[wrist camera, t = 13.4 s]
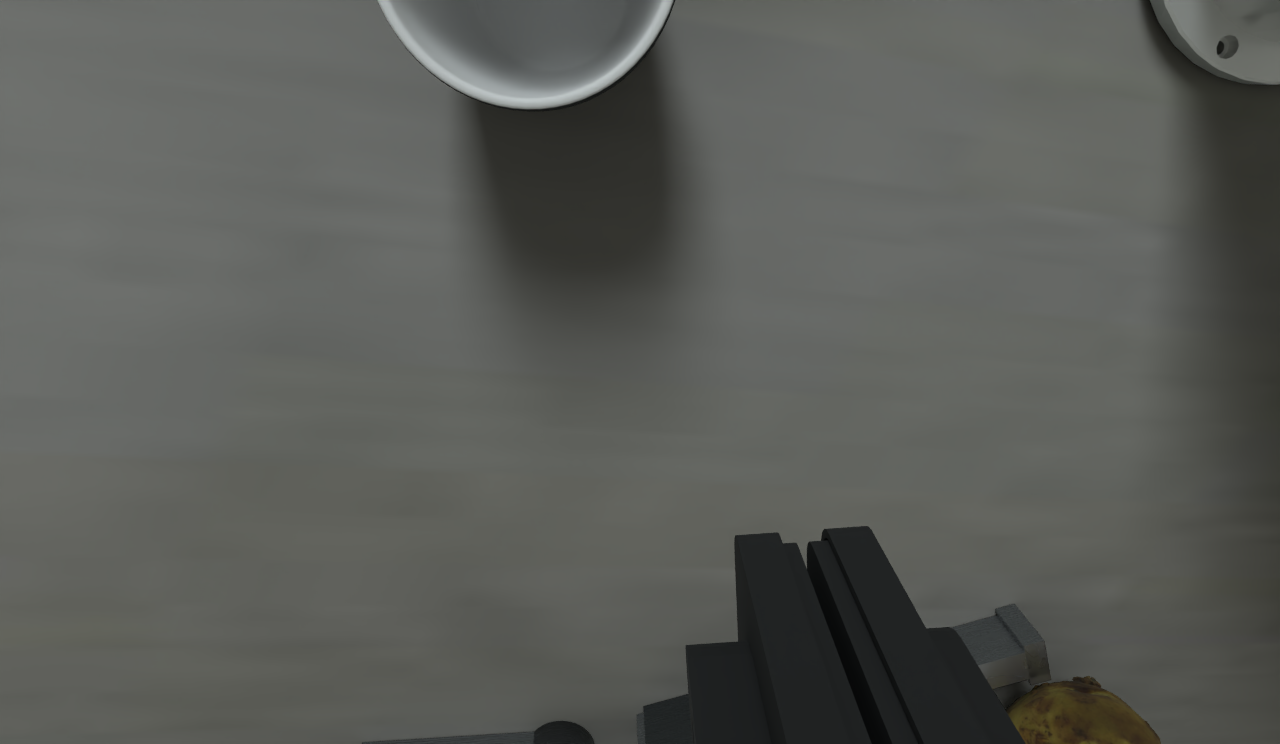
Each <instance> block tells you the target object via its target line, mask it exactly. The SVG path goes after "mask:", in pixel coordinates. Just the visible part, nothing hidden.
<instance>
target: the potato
mask: <svg viewBox="0 0 1280 744" xmlns="http://www.w3.org/2000/svg"><path fill="white" fill-rule="evenodd" d="M1072 680H1073V681H1062V682H1054V683H1043V684H1041V685H1038V686H1037V685H1035V686H1034V688H1033V689H1032V690H1031V691H1030V692H1028V693H1027V694H1025V695H1024V696H1022V697H1020V698H1018V699H1017V700H1016V701H1015V702H1014V703H1013V704H1012V705H1011V706H1010V707H1009V708H1007V710H1006V712H1007V714H1008V715H1009V717H1010V719H1011V720H1012V722H1013V724H1014V725H1015V727H1016V729H1017V730H1018V732H1019V733H1020V735H1021V737H1022V738H1023V740H1024V742H1025V743H1026V744H1161V742H1160V738H1159V737H1158V735H1157V734H1156V733H1155V731H1154V730H1153V729H1152V728H1151V727H1150V725H1149V724H1148V723H1147V721H1144V720H1143V719H1142V718H1141V717H1140V716H1139V715H1138V714H1137V713H1136V712H1135V711H1134V710H1133V709H1132V708H1131V707H1129V706H1128V705H1127V704H1126V703H1125V702H1124V701H1123V700H1121V699H1120V698H1119V697H1118V696H1116V695H1114V694H1113V693H1111V692H1109V691H1107V690H1104V689H1102V688H1101V685H1100V684H1099V683H1098V682H1097V681H1096V680H1095V679H1094V678H1093V677H1092V678H1090V676H1087V677H1084V678H1081V677H1074V678H1073V679H1072Z"/></svg>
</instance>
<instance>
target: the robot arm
mask: <svg viewBox="0 0 1280 744" xmlns="http://www.w3.org/2000/svg"><path fill="white" fill-rule="evenodd" d="M1150 2H1151V4H1152V7H1153V10H1154V12H1155V15H1156V17H1157V20H1158V22H1159V24H1160V25H1161V27H1162V28H1163V30H1164V31H1165V33H1166V34H1167V36H1168V37H1169V39H1170V40H1171V42H1172V43H1173V45H1174V46H1175V47H1176V48H1178V49H1179V50H1180V51H1181V52H1182V53H1183V54H1184V55H1185V56H1186V57H1187V58H1188V59H1189V60H1191V61H1192V62H1193V63H1194V64H1196V65H1197V66H1199V67H1201V68H1203V69H1205V70H1206V71H1208V72H1210V73H1212V74H1214V75H1215V76H1217V77H1221V78H1225V79H1228V80H1232V81H1235V82H1239V83H1242V84H1259V85H1279V84H1280V0H1150ZM735 572H736V596H737V621H738V642H726V643H712V644H697V645H686V663H687V678H688V693H689V707H690V720H691V733H692V744H1026V743H1025V742H1024V740H1023V738H1022V737H1021V735H1020V733H1019V732H1018V730H1017V729H1016V727H1015V725H1014V724H1013V722H1012V720H1011V719H1010V717H1009V715H1008V714H1007V712H1006V711H1005V709H1004V707H1003V706H1002V704H1001V702H1000V701H999V699H998V697H997V696H996V694H995V693H994V691H993V689H992V688H991V686H990V684H989V683H988V681H987V679H986V678H985V676H984V675H983V673H982V671H981V670H980V668H979V666H978V665H977V663H976V661H975V660H974V658H973V657H972V655H971V653H970V652H969V650H968V648H967V647H966V645H965V643H964V642H963V640H962V639H961V637H960V636H959V635H958V633H957V632H956V631H955V630H954V629H952V628H950V627H943V628H928V629H926V627H925V626H924V624H923V622H922V620H921V618H920V617H919V615H918V613H917V611H916V609H915V608H914V606H913V604H912V602H911V600H910V599H909V597H908V595H907V593H906V591H905V590H904V588H903V586H902V584H901V582H900V581H899V579H898V577H897V575H896V573H895V572H894V570H893V568H892V566H891V564H890V563H889V561H888V559H887V557H886V555H885V554H884V552H883V550H882V548H881V546H880V545H879V543H878V541H877V539H876V537H875V536H874V534H873V532H872V530H871V529H870V528H869V527H868V526H861V527H847V528H833V529H824V530H823V532H822V537H821V541H812V542H809V543H808V546H807V569H806V566H805V563H804V561H803V558H802V555H801V553H800V550H799V547H798V545H797V543H784V544H783V543H782V540H781V537H780V535H779V533H763V534H749V535H735Z"/></svg>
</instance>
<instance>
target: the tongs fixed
mask: <svg viewBox="0 0 1280 744" xmlns="http://www.w3.org/2000/svg"><path fill="white" fill-rule="evenodd" d="M362 744H594V741H593V738H592V736H591V735H590V734H589V732H588V731H587V730H586V729H584V728H583V727H581V726H580V725H578V724H575V723H572V722H567V721H556V722H551V723H548V724H545V725H543V726H541V727H540V728H538V729H537V730H536V731H535V732H524V733H508V734H492V735H476V736H460V737H444V738H428V739H412V740H396V741H380V742H364V743H362Z"/></svg>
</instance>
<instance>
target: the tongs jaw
mask: <svg viewBox="0 0 1280 744" xmlns="http://www.w3.org/2000/svg"><path fill="white" fill-rule="evenodd" d="M996 614H997V615H996V616H993V617H989V618H985V619H982V620H978V621H975V622H971V623H967V624H964V625H960V626H956V627H953V628H952V629H954V630H955V631H956V632H957V633H958V635H959V636H960V637H961V639H962V640H963V642H964V643H965V645H966V647H967V648H968V650H969V652H970V653H971V655H972V657H973V658H974V660H975V661H976V663H977V665H978V666H979V668H980V670H981V671H982V673H983V675H984V676H985V678H986V679H987V681H988V683H989V684H990V686H991V688H992V689H995V688H998V687H1002V686H1006V685H1009V684H1013V683H1017V682H1020V681H1024V680H1028V682H1029V683H1030V685H1034V684H1038V683H1042V682H1045V681H1049V680H1051V676H1050V670H1049V664H1048V658H1047V653H1046V647H1045V641H1044V639H1043V638H1042V637H1041V636H1040V635H1039V633H1038V632H1037V631H1036V630H1035V628H1034V627H1033V626H1032V625H1031V623H1030V622H1029V621H1028V620H1027V619H1026V617H1025V616H1024V615H1023V614H1022V612H1021V611H1020V610H1019V609H1018V607H1017V606H1016V605H1015V604H1012V605H1009V606H1005V607H1001V608H998V609H996ZM643 708H644V713H641V714H638V715H637V736H638V744H692V733H691V720H690V707H689V694H687V695H683V696H679V697H676V698H672V699H669V700H665V701H661V702H658V703H654V704H651V705H647V706H643Z"/></svg>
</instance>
